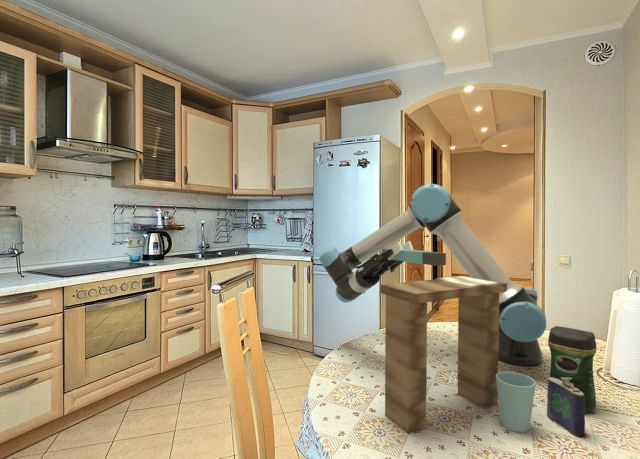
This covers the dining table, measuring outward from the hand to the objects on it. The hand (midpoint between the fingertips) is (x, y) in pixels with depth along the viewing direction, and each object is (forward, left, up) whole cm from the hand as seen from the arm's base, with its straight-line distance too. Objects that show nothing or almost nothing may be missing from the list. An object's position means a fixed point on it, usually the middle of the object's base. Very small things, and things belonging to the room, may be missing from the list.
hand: (405, 245), depth 102 cm
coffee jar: (-28, +29, -38) cm, 55 cm away
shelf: (+2, +17, -38) cm, 42 cm away
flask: (-17, +34, -38) cm, 54 cm away
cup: (-7, +29, -38) cm, 48 cm away
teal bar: (0, +2, -4) cm, 5 cm away
